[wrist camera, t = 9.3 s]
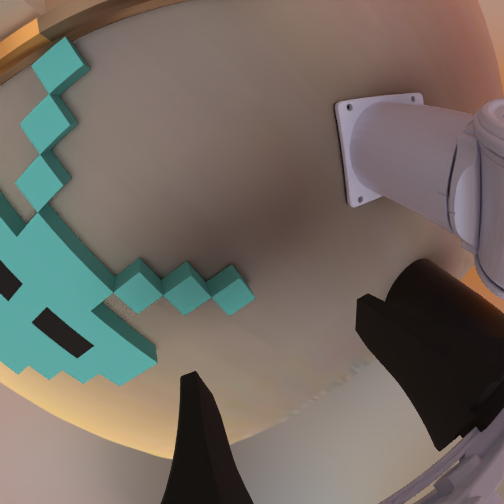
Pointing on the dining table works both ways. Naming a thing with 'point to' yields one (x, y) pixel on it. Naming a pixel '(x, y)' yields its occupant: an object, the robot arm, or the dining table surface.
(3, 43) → the board
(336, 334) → the dining table surface
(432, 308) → the water bottle
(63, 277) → the alien figure
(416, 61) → the dining table surface
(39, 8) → the cream block with knob
